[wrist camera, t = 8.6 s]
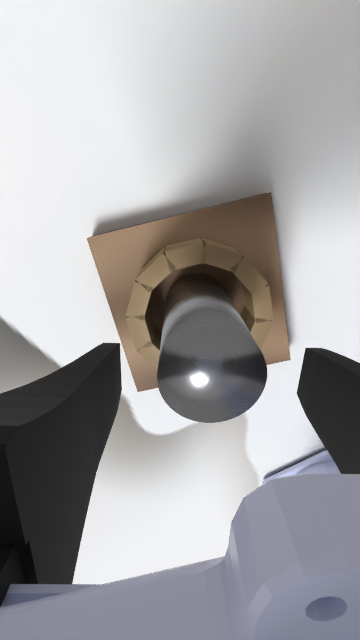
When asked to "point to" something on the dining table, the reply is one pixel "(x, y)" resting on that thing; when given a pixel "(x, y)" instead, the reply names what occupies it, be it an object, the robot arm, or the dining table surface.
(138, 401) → the dining table surface
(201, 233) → the socket block
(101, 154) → the dining table surface
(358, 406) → the robot arm
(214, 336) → the steel pin
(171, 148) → the dining table surface
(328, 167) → the dining table surface
